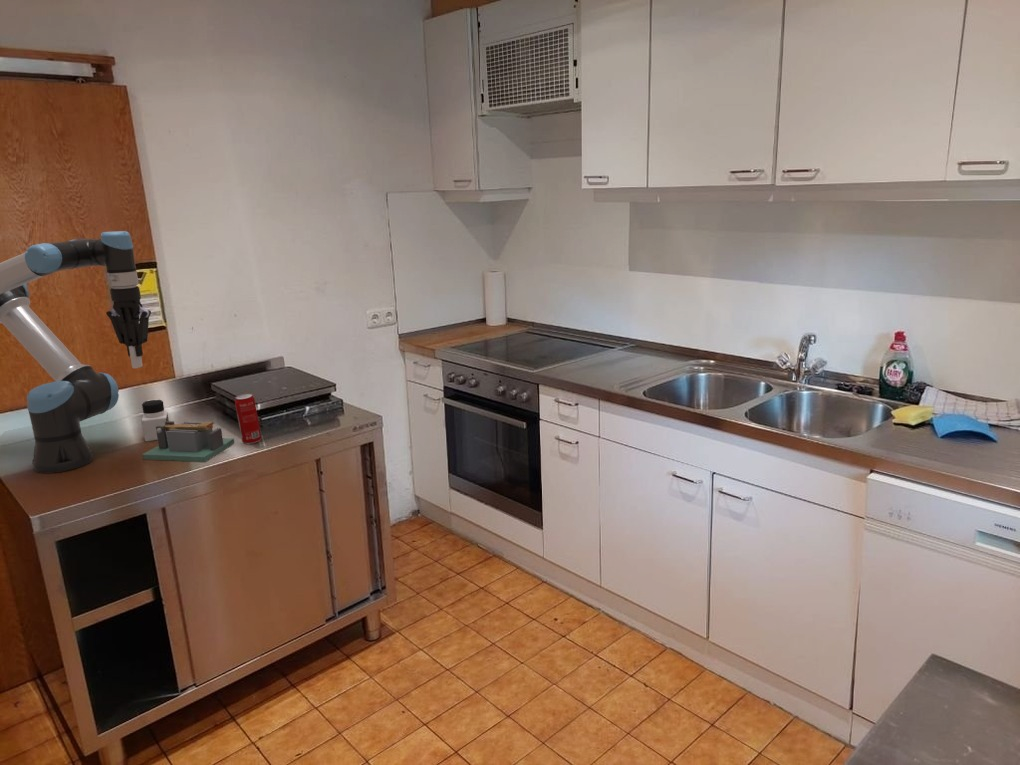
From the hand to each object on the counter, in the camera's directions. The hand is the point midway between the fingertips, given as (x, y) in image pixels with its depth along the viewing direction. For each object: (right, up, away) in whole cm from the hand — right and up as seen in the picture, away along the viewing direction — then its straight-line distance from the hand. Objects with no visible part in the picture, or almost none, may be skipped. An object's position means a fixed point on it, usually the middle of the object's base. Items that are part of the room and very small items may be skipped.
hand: (137, 367), depth 218 cm
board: (+12, -25, +7) cm, 29 cm away
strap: (+12, -18, +5) cm, 23 cm away
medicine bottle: (-4, -22, +21) cm, 30 cm away
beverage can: (+28, -23, +14) cm, 39 cm away
